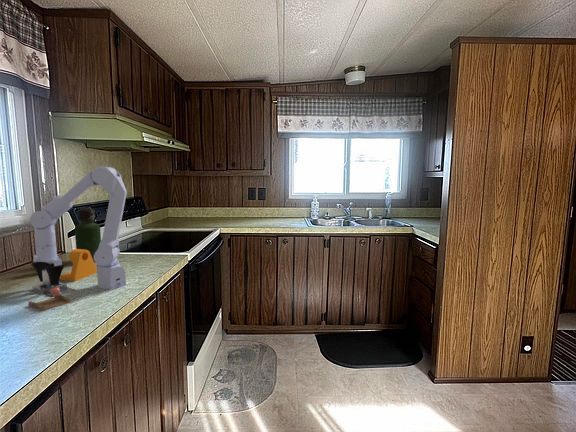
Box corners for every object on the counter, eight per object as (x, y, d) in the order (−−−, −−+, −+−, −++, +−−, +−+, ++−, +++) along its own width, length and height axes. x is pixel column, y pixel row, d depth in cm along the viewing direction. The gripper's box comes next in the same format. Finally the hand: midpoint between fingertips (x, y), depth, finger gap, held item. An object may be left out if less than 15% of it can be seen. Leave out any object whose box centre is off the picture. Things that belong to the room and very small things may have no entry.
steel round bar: (58, 288, 116) (56, 269, 115) (46, 291, 113) (45, 271, 112) (52, 286, 117) (51, 267, 117) (41, 289, 114) (39, 270, 113)
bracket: (82, 274, 135) (80, 245, 134) (97, 275, 134) (95, 246, 132) (59, 282, 125) (56, 252, 123) (75, 283, 123) (73, 253, 122)
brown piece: (70, 305, 103) (70, 298, 103) (42, 314, 96) (41, 307, 96) (57, 300, 107) (56, 293, 107) (28, 308, 100) (28, 302, 100)
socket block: (77, 292, 114) (76, 286, 114) (51, 300, 107) (51, 293, 107) (56, 286, 121) (56, 280, 120) (31, 292, 114) (30, 286, 113)
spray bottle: (74, 263, 150) (70, 210, 147) (80, 258, 160) (76, 207, 156) (99, 262, 153) (96, 209, 150) (104, 256, 163) (101, 207, 160)
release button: (61, 295, 111) (61, 288, 111) (53, 297, 109) (53, 290, 109) (57, 293, 112) (57, 287, 112) (50, 296, 110) (49, 289, 110)
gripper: (22, 244, 113) (26, 282, 115) (43, 249, 106) (47, 289, 108) (45, 241, 119) (48, 276, 121) (66, 245, 112) (69, 283, 114)
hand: (49, 282), depth 115 cm, fingers open, 7 cm apart
